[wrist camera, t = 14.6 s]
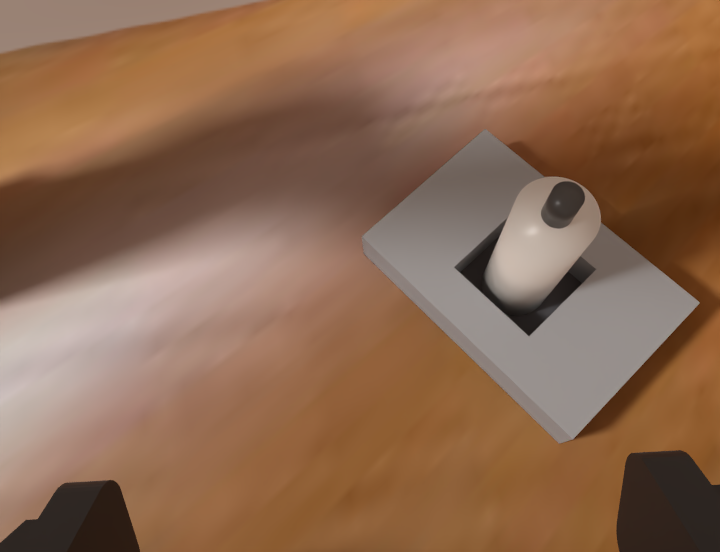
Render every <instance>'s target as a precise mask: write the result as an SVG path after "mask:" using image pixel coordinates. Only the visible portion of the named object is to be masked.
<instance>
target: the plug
mask: <svg viewBox="0 0 720 552" xmlns="http://www.w3.org/2000/svg"><path fill="white" fill-rule="evenodd" d="M600 224H601V214H600V209H599V206H598V204H597V202H596V200H595V198H594V197H593V195H592V194H591V193H590V192H589V191H588V190H587V189H586V188H585V187H583V186H582V185H580V184H579V183H577V182H575V181H573V180H570V179H567V178H563V177H544V178H540V179H537V180H534V181H532V182H531V183H529V184H528V185H526V186H525V187H524V188H523V189H522V190H521V191H520V193H519V194H518V196H517V198H516V200H515V202H514V205H513V207H512V209H511V212H510V214H509V216H508V218H507V221H506V223H505V225H504V228H503V230H502V232H501V235H500V237H499V239H498V241H497V244H496V246H495V248H494V251H493V253H492V255H491V258H490V260H489V262H488V265H487V267H486V269H485V271H484V274H483V278H482V289H483V293H484V295H485V296H486V297H487V298H488V299H489V300H490V301H491V302H492V303H493V304H494V305H495V306H497V307H498V308H499V309H500V310H501V311H502V312H503V313H505V314H508V315H514V316H519V315H525V314H528V313H531V312H532V311H534V310H536V309H537V308H538V307H539V306H540V305H541V304H542V302H543V301H544V300H545V299H546V297H547V296H548V295H549V294H550V293H551V291H552V290H553V289H554V288H555V286H556V285H557V284H558V283H559V282H560V280H561V279H562V278H563V277H564V275H565V274H566V273H567V272H568V270H569V269H570V268H571V267H572V266H573V264H574V263H575V262H576V261H577V259H578V258H579V257H580V256H581V254H582V253H583V252H584V251H585V250H586V248H587V247H588V246H589V245H590V243H591V242H592V241H593V240H594V238H595V237H596V235H597V233H598V231H599V228H600Z"/></svg>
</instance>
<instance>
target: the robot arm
mask: <svg viewBox="0 0 720 552" xmlns="http://www.w3.org/2000/svg"><path fill="white" fill-rule="evenodd" d="M617 541H618V547H619V551H620V552H720V485H711V484H710V482H709V481H708V479H707V478H706V477H705V475H704V474H703V473H702V471H701V470H700V469H699V467H698V466H697V465H696V463H695V462H694V461H693V459H692V458H691V457H690V456H689V455H688V454H687V453H686V452H684V451H681V450H679V451H661V452H643V453H631V454H630V455H629V456H628V457H627V460H626V464H625V471H624V478H623V485H622V491H621V498H620V505H619V512H618V519H617ZM0 552H140V549H139V545H138V542H137V539H136V536H135V533H134V530H133V526H132V523H131V520H130V517H129V514H128V511H127V508H126V504H125V501H124V498H123V495H122V492H121V489H120V487H119V485H118V484H117V483H116V482H115V481H113V480H108V481H90V482H72V483H64V484H63V485H61V486H60V487H59V488H58V489H57V490H56V492H55V493H54V494H53V496H52V498H51V499H50V501H49V502H48V504H47V506H46V507H45V509H44V510H43V512H42V513H41V515H40V517H39V518H38V519H36V520H26V521H24V522H23V523H22V524H21V525H20V526H19V527H18V528H17V529H15V530H14V531H13V532H12V533H11V534H10V535H9V536H8V537H6V538H5V539H4V540H3V541H2V542H1V543H0Z"/></svg>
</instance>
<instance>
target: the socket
mask: <svg viewBox="0 0 720 552" xmlns="http://www.w3.org/2000/svg"><path fill="white" fill-rule="evenodd" d="M540 178H544V176H543V175H542V174H540V173H539V172H538V171H537V170H535V169H534V168H533V167H532V166H531V165H529V164H528V163H527V162H526V161H524V160H523V159H522V158H521V157H519V156H518V155H517V154H516V153H514V152H513V151H512V150H511V149H510V148H508V147H507V146H506V145H505V144H503V143H502V142H501V141H500V140H498V139H497V138H496V137H495V136H493V135H492V134H491V133H490V132H489V131H487V130H486V129H484V130H483V131H482V132H481V133H480V134H479V135H477V136H476V137H475V138H474V139H473V140H472V141H471V142H469V143H468V144H467V145H466V146H465V147H464V148H463V149H461V150H460V151H459V152H458V153H457V154H456V155H454V156H453V157H452V158H451V159H450V160H449V161H448V162H446V163H445V164H444V165H443V166H442V167H441V168H440V169H438V170H437V171H436V172H435V173H434V174H433V175H432V176H430V177H429V178H428V179H427V180H426V181H425V182H423V183H422V184H421V185H420V186H419V187H418V188H417V189H415V190H414V191H413V192H412V193H411V194H410V195H409V196H407V197H406V198H405V199H404V200H403V201H402V202H401V203H399V204H398V205H397V206H396V207H395V208H394V209H392V210H391V211H390V212H389V213H388V214H387V215H386V216H384V217H383V218H382V219H381V220H380V221H379V222H378V223H376V224H375V225H374V226H373V227H372V228H371V229H370V230H368V231H367V232H366V233H365V234H364V235H363V236H362V243H363V251H364V254H365V255H366V256H367V257H368V258H369V259H370V260H371V261H372V262H373V263H374V264H375V265H376V266H377V267H378V268H379V269H380V270H381V271H382V272H383V273H384V274H385V275H386V276H387V277H388V278H389V279H390V280H391V281H392V282H393V283H395V284H396V285H397V286H398V287H399V288H400V289H401V290H402V291H403V292H404V293H405V294H406V295H407V296H408V297H409V298H410V299H411V300H412V301H413V302H414V303H415V304H416V305H417V306H418V307H419V308H420V309H421V310H422V311H423V312H424V313H425V314H426V315H427V316H428V317H429V318H431V319H432V320H433V321H434V322H435V323H436V324H437V325H438V326H439V327H440V328H441V329H442V330H443V331H444V332H445V333H446V334H447V335H448V336H449V337H450V338H451V339H452V340H453V341H454V342H455V343H456V344H457V345H458V346H459V347H460V348H461V349H462V350H463V351H464V352H466V353H467V354H468V355H469V356H470V357H471V358H472V359H473V360H474V361H475V362H476V363H477V364H478V365H479V366H480V367H481V368H482V369H483V370H484V371H485V372H486V373H487V374H488V375H489V376H490V377H491V378H492V379H493V380H494V381H495V382H496V383H497V384H498V385H499V386H500V387H502V388H503V389H504V390H505V391H506V392H507V393H508V394H509V395H510V396H511V397H512V398H513V399H514V400H515V401H516V402H517V403H518V404H519V405H520V406H521V407H522V408H523V409H524V410H525V411H526V412H527V413H528V414H529V415H530V416H531V417H532V418H533V419H534V420H535V421H537V422H538V423H539V424H540V425H541V426H542V427H543V428H544V429H545V430H546V431H547V432H548V433H549V434H550V435H551V436H552V437H553V438H554V439H555V440H556V441H557V442H558V443H559V444H560V443H563V442H566V441H569V440H573V439H574V438H575V437H576V436H577V435H578V433H579V432H580V431H581V430H582V429H583V428H584V427H585V426H586V425H587V424H588V423H589V422H590V421H591V419H592V418H593V417H594V416H595V415H596V414H597V413H598V412H599V411H600V410H601V409H602V408H603V407H604V406H605V404H606V403H607V402H608V401H609V400H610V399H611V398H612V397H613V396H614V395H615V394H616V393H617V392H618V390H619V389H620V388H621V387H622V386H623V385H624V384H625V383H626V382H627V381H628V380H629V379H630V378H631V376H632V375H633V374H634V373H635V372H636V371H637V370H638V369H639V368H640V367H641V366H642V365H643V364H644V362H645V361H646V360H647V359H648V358H649V357H650V356H651V355H652V354H653V353H654V352H655V351H656V350H657V349H658V347H659V346H660V345H661V344H662V343H663V342H664V341H665V340H666V339H667V338H668V337H669V336H670V335H671V333H672V332H673V331H674V330H675V329H676V328H677V327H678V326H679V325H680V324H681V323H682V322H683V321H684V319H685V318H686V317H687V316H688V315H689V314H690V313H691V312H692V311H693V310H694V309H695V308H696V307H697V305H698V304H699V303H700V302H699V301H697V300H696V299H695V298H694V297H692V296H691V295H690V294H689V293H687V292H686V291H685V290H684V289H683V288H681V287H680V286H679V285H678V284H676V283H675V282H674V281H673V280H671V279H670V278H669V277H668V276H666V275H665V274H664V273H663V272H662V271H660V270H659V269H658V268H657V267H655V266H654V265H653V264H652V263H650V262H649V261H648V260H647V259H645V258H644V257H643V256H642V255H641V254H639V253H638V252H637V251H636V250H634V249H633V248H632V247H631V246H629V245H628V244H627V243H626V242H624V241H623V240H622V239H621V238H620V237H618V236H617V235H616V234H615V233H613V232H612V231H611V230H610V229H608V228H607V227H606V226H605V225H603V224H602V223H601V224H600V228H599V231H598V233H597V235H596V237H595V238H594V240H593V241H592V242H591V243H590V245H589V246H588V247H587V248H586V250H585V251H584V252H583V253H582V254H581V256H580V257H579V258H578V259H577V261H576V262H575V263H574V264H573V266H572V267H571V268H570V269H569V270H568V272H567V273H566V274H565V275H564V277H563V278H562V279H561V280H560V282H559V283H558V284H557V285H556V286H555V288H554V289H553V290H552V291H551V293H550V294H549V295H548V296H547V297H546V299H545V300H544V301H543V302H542V304H541V305H540V306H539V307H538V308H537V309H536V310H534V311H532V312H531V313H528V314H525V315H519V316H514V315H508V314H505V313H503V312H502V311H501V310H500V309H499V308H498V307H497V306H495V305H494V304H493V303H492V302H491V301H490V300H489V299H488V298H487V297H486V296H485V295H484V293H483V289H482V278H483V274H484V271H485V269H486V267H487V265H488V262H489V260H490V258H491V255H492V253H493V251H494V248H495V246H496V244H497V241H498V239H499V237H500V235H501V232H502V230H503V228H504V225H505V223H506V221H507V218H508V216H509V214H510V212H511V209H512V207H513V205H514V202H515V200H516V198H517V196H518V194H519V193H520V191H521V190H522V189H523V188H524V187H525V186H526V185H528V184H529V183H531V182H532V181H534V180H537V179H540Z"/></svg>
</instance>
